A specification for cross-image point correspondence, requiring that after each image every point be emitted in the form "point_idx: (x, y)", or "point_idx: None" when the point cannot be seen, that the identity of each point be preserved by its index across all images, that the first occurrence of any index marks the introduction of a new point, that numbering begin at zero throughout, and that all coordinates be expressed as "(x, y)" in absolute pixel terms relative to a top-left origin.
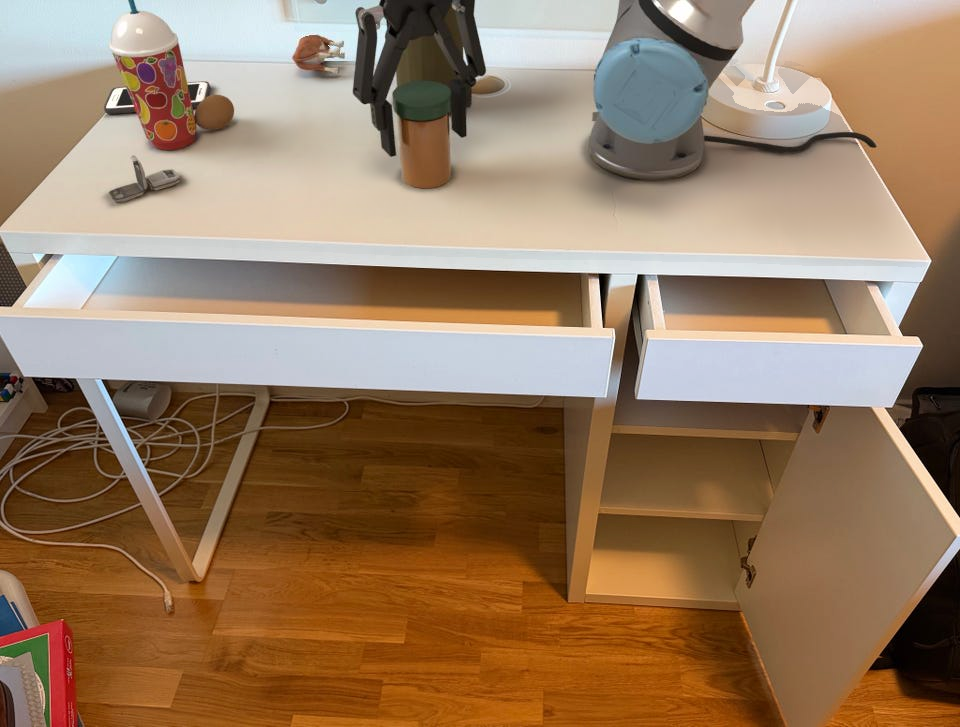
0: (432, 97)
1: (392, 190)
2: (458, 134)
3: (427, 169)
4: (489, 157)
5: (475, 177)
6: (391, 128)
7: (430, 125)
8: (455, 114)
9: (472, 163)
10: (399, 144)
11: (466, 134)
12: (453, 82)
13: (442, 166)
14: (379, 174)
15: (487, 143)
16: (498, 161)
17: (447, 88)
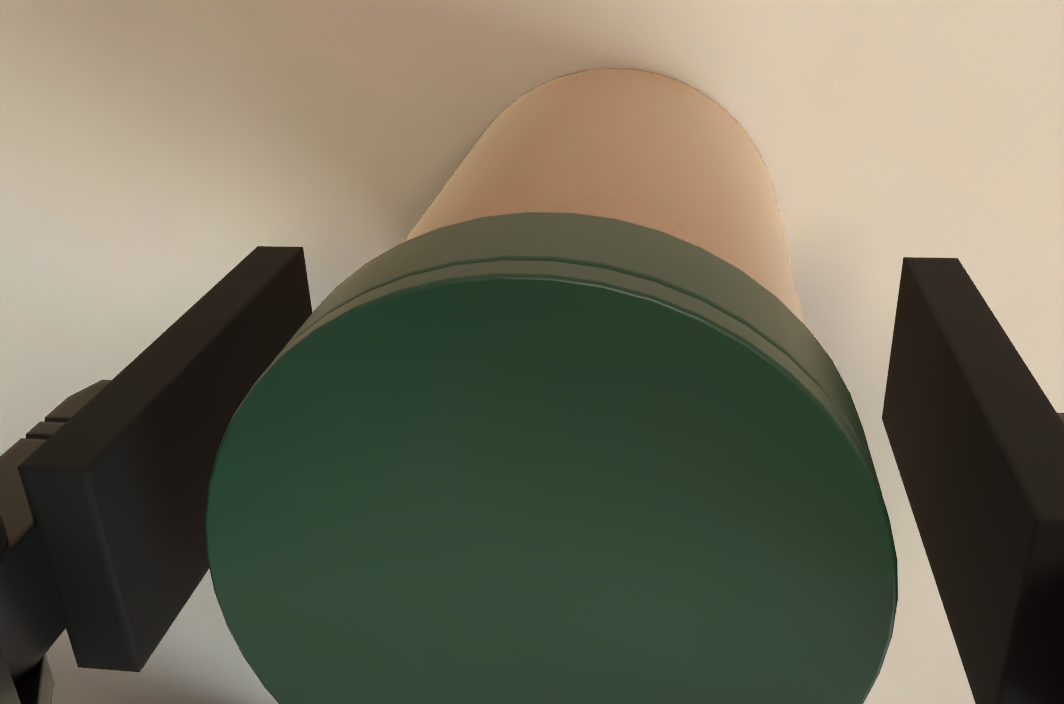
0: (469, 449)
1: (899, 182)
2: (307, 296)
3: (674, 115)
4: (165, 230)
5: (333, 53)
6: (991, 370)
7: None
8: None
9: (287, 220)
10: None
11: (252, 251)
12: (120, 611)
13: (549, 106)
14: (863, 392)
15: None
16: (127, 159)
17: (224, 545)
